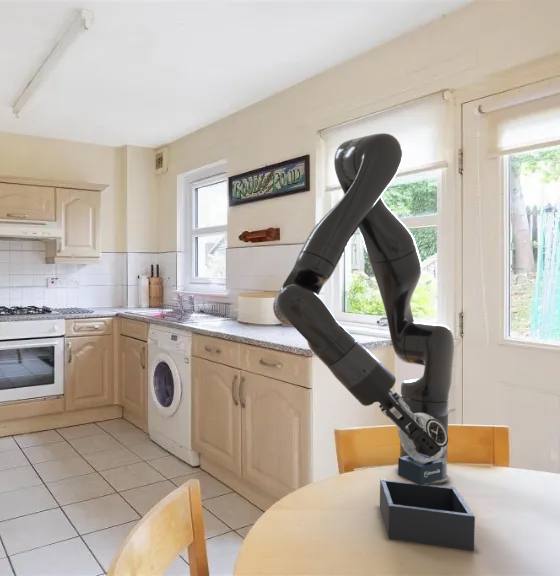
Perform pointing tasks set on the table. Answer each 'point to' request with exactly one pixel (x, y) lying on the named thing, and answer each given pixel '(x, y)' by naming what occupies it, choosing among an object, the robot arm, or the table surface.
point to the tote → (426, 514)
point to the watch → (418, 464)
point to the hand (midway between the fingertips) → (430, 443)
